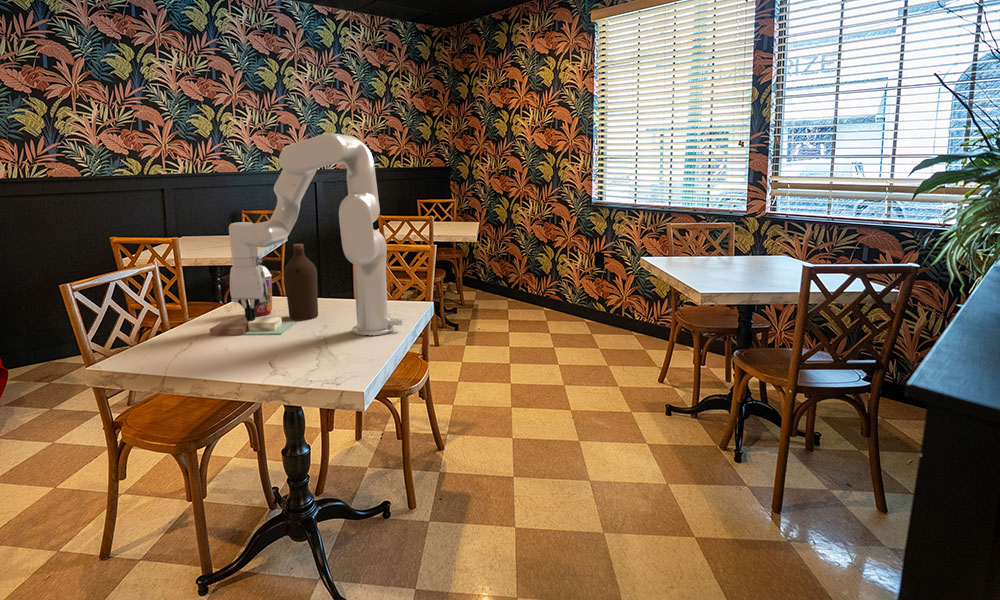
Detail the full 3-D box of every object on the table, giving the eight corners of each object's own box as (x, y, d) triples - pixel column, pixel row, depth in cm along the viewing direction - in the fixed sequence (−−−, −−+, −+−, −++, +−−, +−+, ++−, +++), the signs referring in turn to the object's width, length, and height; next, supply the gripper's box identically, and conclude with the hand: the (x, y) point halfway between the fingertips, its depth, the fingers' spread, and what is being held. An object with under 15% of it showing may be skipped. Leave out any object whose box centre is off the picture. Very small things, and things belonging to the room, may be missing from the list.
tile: (282, 324, 192) (281, 317, 192) (274, 330, 186) (274, 322, 185) (257, 324, 192) (256, 317, 192) (248, 330, 185) (248, 322, 185)
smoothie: (266, 317, 204) (261, 259, 199) (244, 316, 205) (238, 258, 201) (279, 311, 212) (274, 255, 207) (257, 310, 213) (252, 255, 209)
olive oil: (325, 317, 203) (320, 244, 198) (294, 322, 196) (288, 247, 191) (312, 311, 211) (307, 241, 206) (282, 316, 205) (276, 244, 199)
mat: (295, 322, 196) (295, 321, 196) (281, 334, 182) (281, 333, 182) (261, 323, 196) (261, 322, 196) (245, 334, 182) (244, 333, 182)
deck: (260, 323, 196) (259, 317, 195) (243, 334, 182) (242, 328, 182) (229, 323, 196) (228, 317, 195) (210, 335, 182) (209, 328, 181)
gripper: (274, 260, 188) (279, 316, 192) (226, 260, 188) (232, 317, 192) (265, 264, 181) (271, 322, 185) (215, 264, 180) (222, 323, 184)
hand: (251, 319), depth 188 cm, fingers closed
